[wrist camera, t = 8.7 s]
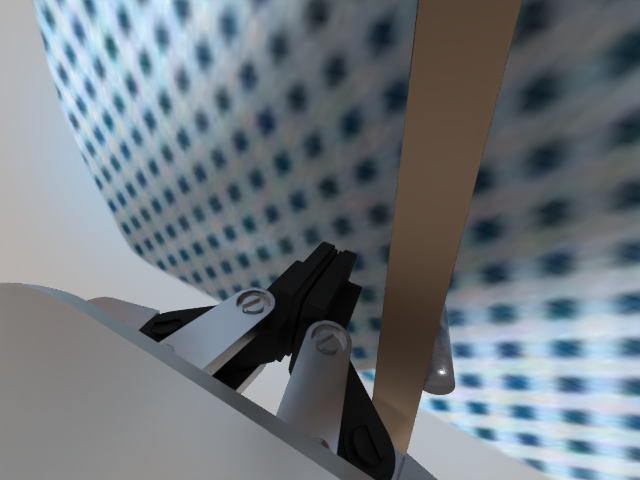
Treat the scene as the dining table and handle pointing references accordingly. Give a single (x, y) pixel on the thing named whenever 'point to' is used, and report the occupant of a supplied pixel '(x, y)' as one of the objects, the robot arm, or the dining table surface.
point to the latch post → (441, 362)
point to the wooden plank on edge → (435, 187)
